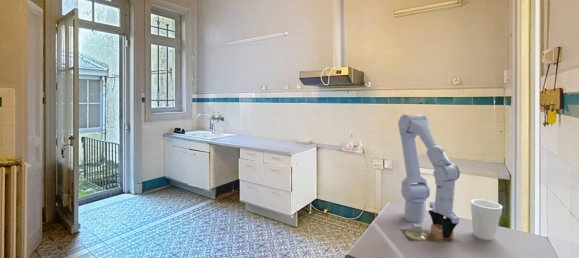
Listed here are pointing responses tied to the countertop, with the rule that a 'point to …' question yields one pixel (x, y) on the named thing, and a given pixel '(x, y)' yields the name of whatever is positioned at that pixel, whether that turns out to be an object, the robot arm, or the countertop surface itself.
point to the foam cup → (485, 218)
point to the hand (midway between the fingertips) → (441, 233)
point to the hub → (416, 233)
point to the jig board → (430, 237)
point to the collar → (439, 232)
